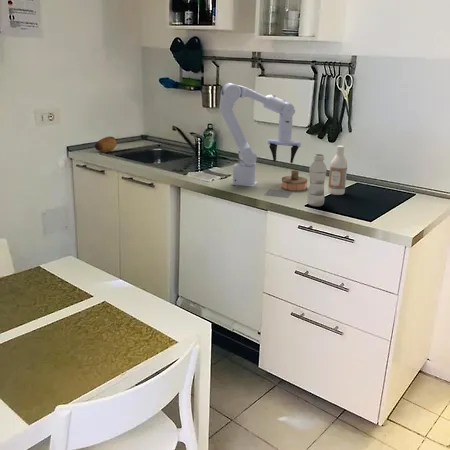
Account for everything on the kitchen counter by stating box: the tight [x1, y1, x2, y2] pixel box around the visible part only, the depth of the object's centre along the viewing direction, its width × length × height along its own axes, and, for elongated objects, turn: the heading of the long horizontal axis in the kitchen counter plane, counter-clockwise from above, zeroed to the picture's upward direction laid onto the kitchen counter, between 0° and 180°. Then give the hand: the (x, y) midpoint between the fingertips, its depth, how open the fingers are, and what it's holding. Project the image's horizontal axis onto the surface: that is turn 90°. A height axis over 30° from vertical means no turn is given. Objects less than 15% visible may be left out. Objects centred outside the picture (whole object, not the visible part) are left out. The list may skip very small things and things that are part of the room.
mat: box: [264, 188, 293, 199], centre depth 218 cm, size 10×10×1 cm
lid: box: [281, 169, 308, 184], centre depth 225 cm, size 11×11×4 cm
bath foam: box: [327, 145, 348, 196], centre depth 219 cm, size 7×7×20 cm
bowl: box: [281, 180, 308, 192], centre depth 227 cm, size 10×10×4 cm
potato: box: [94, 135, 117, 153], centre depth 290 cm, size 8×13×8 cm
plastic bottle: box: [306, 153, 328, 207], centre depth 201 cm, size 6×7×20 cm
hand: (283, 161), depth 232 cm, fingers open, 7 cm apart
